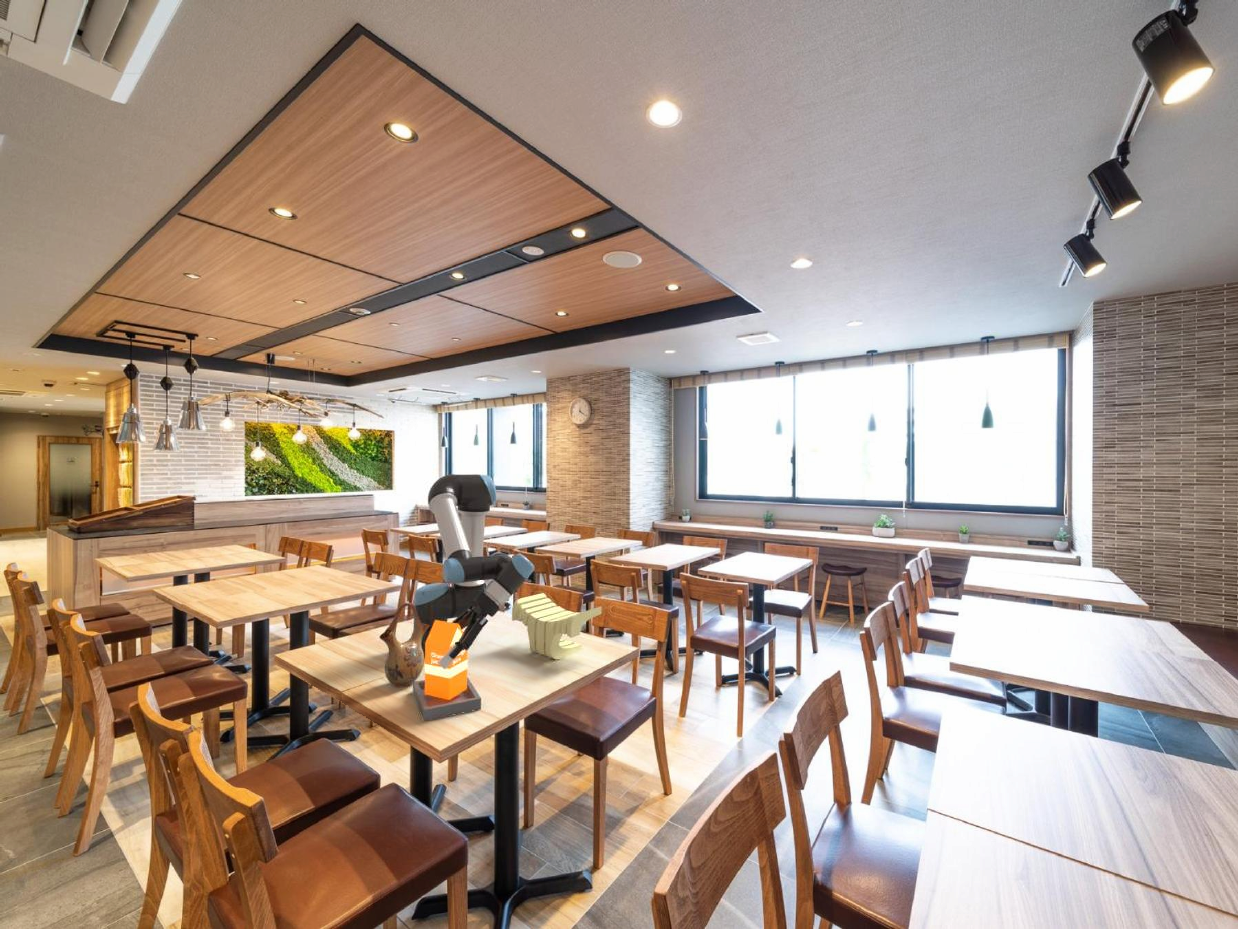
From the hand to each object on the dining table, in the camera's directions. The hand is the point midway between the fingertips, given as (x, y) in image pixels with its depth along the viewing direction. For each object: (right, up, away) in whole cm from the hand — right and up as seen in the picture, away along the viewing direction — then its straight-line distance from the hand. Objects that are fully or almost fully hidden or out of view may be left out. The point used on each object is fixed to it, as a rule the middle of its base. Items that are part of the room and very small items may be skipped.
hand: (437, 659), depth 144 cm
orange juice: (+2, -10, +1) cm, 10 cm away
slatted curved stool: (+28, -14, +42) cm, 53 cm away
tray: (+2, -12, +1) cm, 12 cm away
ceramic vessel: (-14, -12, +11) cm, 22 cm away
